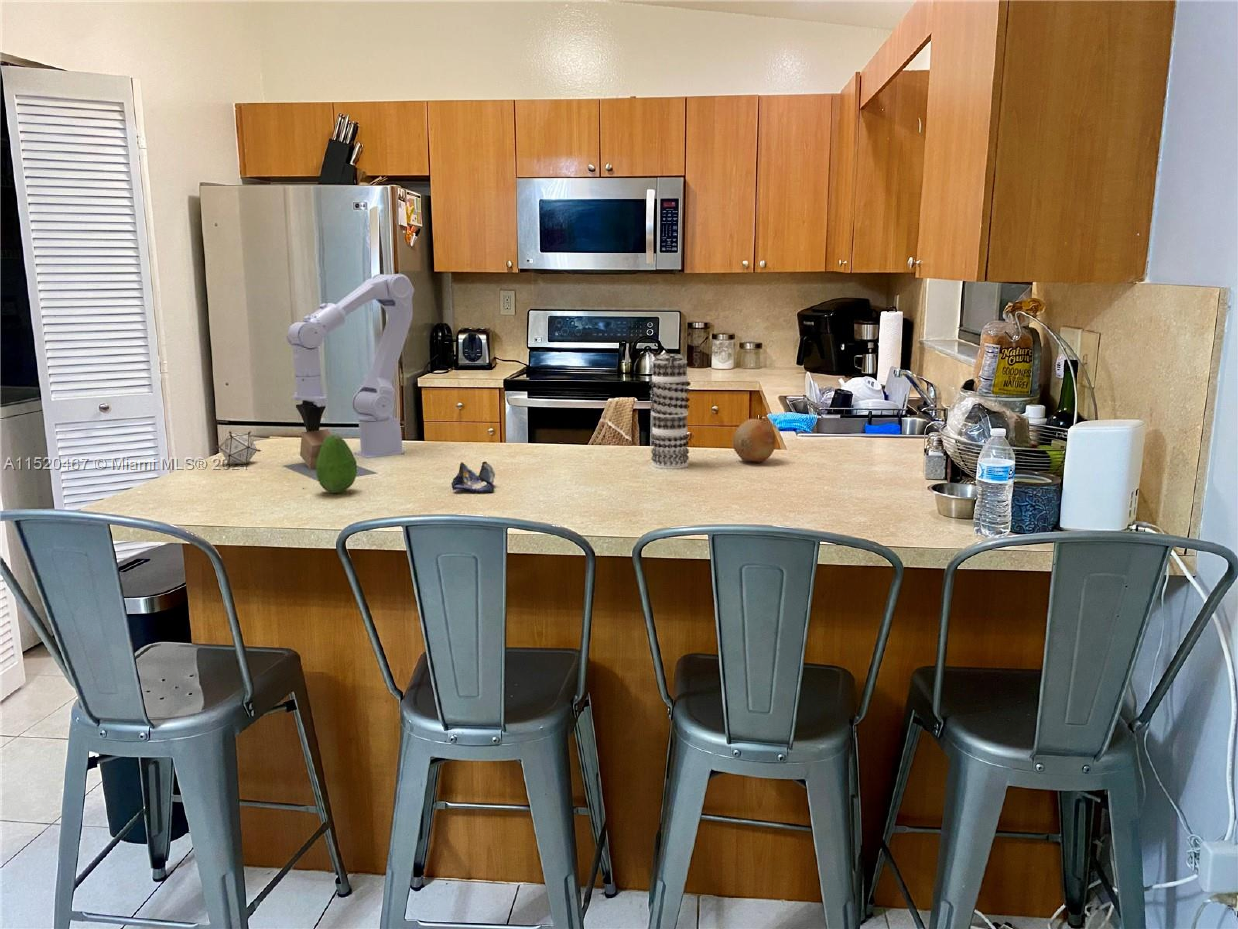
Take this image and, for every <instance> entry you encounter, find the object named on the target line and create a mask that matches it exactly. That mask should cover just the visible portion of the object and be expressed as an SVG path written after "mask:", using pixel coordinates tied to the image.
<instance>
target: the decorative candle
mask: <svg viewBox="0 0 1238 929" xmlns="http://www.w3.org/2000/svg"><path fill="white" fill-rule="evenodd" d="M688 362H689V361H687V360H686V359H685V357H684V356H683V355H682V354H679V353H662V354H661V353H660V354H657V355H656V356H655V357H654V359H653V361H651V363H652V375H651V380H649V381H648V383H649V386H650V387H651V389H650V390H649V393H650V395H651V396H650V398H649V401H650V402H652V404H651V406H650V410H651V412H650V414H651V416H653V419H652V422H653V425H652V430H651V431H652V434H651V436H650V438H651V439H652V441H651V446H653V447H652V449H651V451H650V453H651V461H652V462H651V467H653V468H656V469H660V470H661V469H664V470H675V469H676V470H677V469H678V470H679V469H684V468H686V467H689V465H690V464H689V462H688V461H689V459H690V457H689V455H688V454H689V452H690V449H689V448H687V446H688V445H689V444H690V443H689V441H688V439H689V437H690V436H689V434H688V426H687V423H688V422H687V421H688V419H687V416H688V415H689V411H688V409H690V404H688V402H689V401H690V402H691V399H690V398H689V397H688V396H687V394H689V393H690V392H691V389H689V388H688V387H689V386H691V384H692V383H691V382H690V381H689V379H688V376H689V375H688V373H687V371H688V368H687V367H688Z"/></svg>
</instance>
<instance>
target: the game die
mask: <svg viewBox="0 0 1238 929" xmlns="http://www.w3.org/2000/svg"><path fill="white" fill-rule="evenodd" d="M228 433H229V435H228V436H227V437H226V438H225V439H224V441H223V442H222V443H221V444H220V445H216V446H215V448H216V449H219V450H220V452H221V453H222V455H223V457H224V459H225V461H226V466H230V465H245V466H246V467H247V466H248V465H249V464H248V463H249V462H250V460H251V459H252V458H253V456H254V455H255V454H257V452H262V450H261V449H257V446H256V444H255V443H254V441H253V439H252V438H251V436H250V435H251V433H252V431H251V430H249V431H248V432H247V433H232V431H231V430H229V431H228Z"/></svg>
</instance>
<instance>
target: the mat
mask: <svg viewBox="0 0 1238 929" xmlns="http://www.w3.org/2000/svg"><path fill="white" fill-rule="evenodd" d="M282 467H283V468H286V469H288V470H290V471H293V472H295V473H297V474H300V475H302V476H305V477H307V478H309V479H312V480H314V481H316V482H319V480H318V478H317V475H316V468H314V469H310V468H309V467H308V466H307V464H306V463H305V462H299V463H293V464H291V463H290V464H285V465H282ZM377 474H378V472H376V471H374V470H370V469H368V468H365V467H362V466H359V465H357V474H356V478H358V477H359V478H360V477H364V476H369V475H371V476H372V475H377Z"/></svg>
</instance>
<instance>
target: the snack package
mask: <svg viewBox="0 0 1238 929" xmlns="http://www.w3.org/2000/svg"><path fill="white" fill-rule="evenodd" d="M495 476H496V473H495V470H494V468H493V467H492V466H491V465H490V464H489V463H488V462H487V461H482V463H481V467H480V470H479V473H478V474H477V473H476V472H475V471H473V470H472V469H471V468H470V467H468V465H466V464H465V463H464V462H463V461H460V464H459V469H458V472H457V475H456V476H455V477H454V478H452V482H451V488H452V490H453V491H457V490H469V491H470V492H471V493H472V494H478V495H479V494H486V493H488V494H489V493H490V494H492V493H494V492H495V487H494V482H495V481H494V480H495ZM483 482H484V483H485V484H484V485H481V486H480V487H479V488H474V487H475V486H478V485H479V484H482V483H483Z"/></svg>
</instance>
